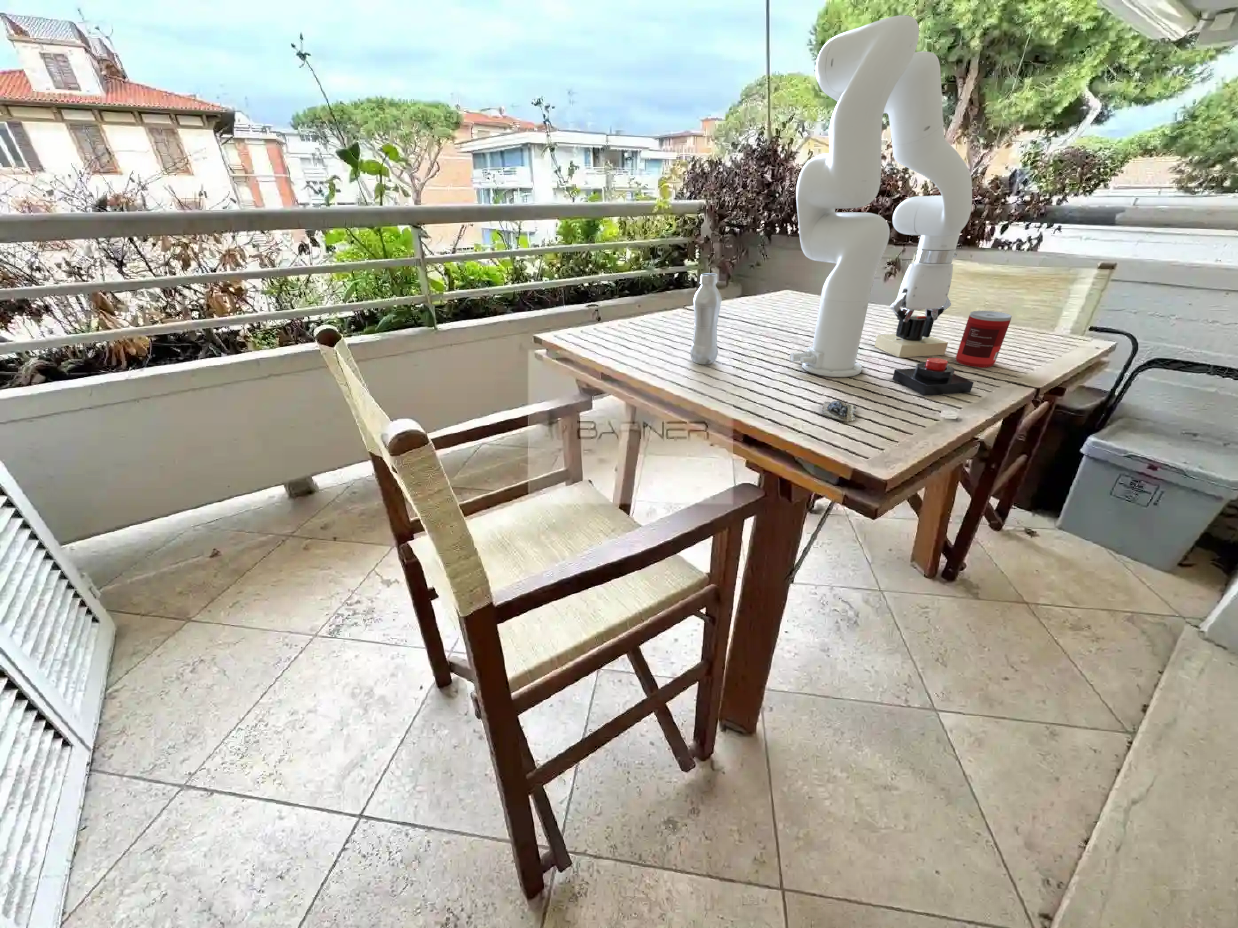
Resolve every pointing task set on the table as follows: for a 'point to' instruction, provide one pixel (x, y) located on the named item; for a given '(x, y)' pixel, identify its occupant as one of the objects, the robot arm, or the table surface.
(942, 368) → the button
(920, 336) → the knob
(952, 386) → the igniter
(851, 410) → the blueberries
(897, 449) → the table surface
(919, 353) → the beige flat block
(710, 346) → the plastic bottle
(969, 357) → the canned food
